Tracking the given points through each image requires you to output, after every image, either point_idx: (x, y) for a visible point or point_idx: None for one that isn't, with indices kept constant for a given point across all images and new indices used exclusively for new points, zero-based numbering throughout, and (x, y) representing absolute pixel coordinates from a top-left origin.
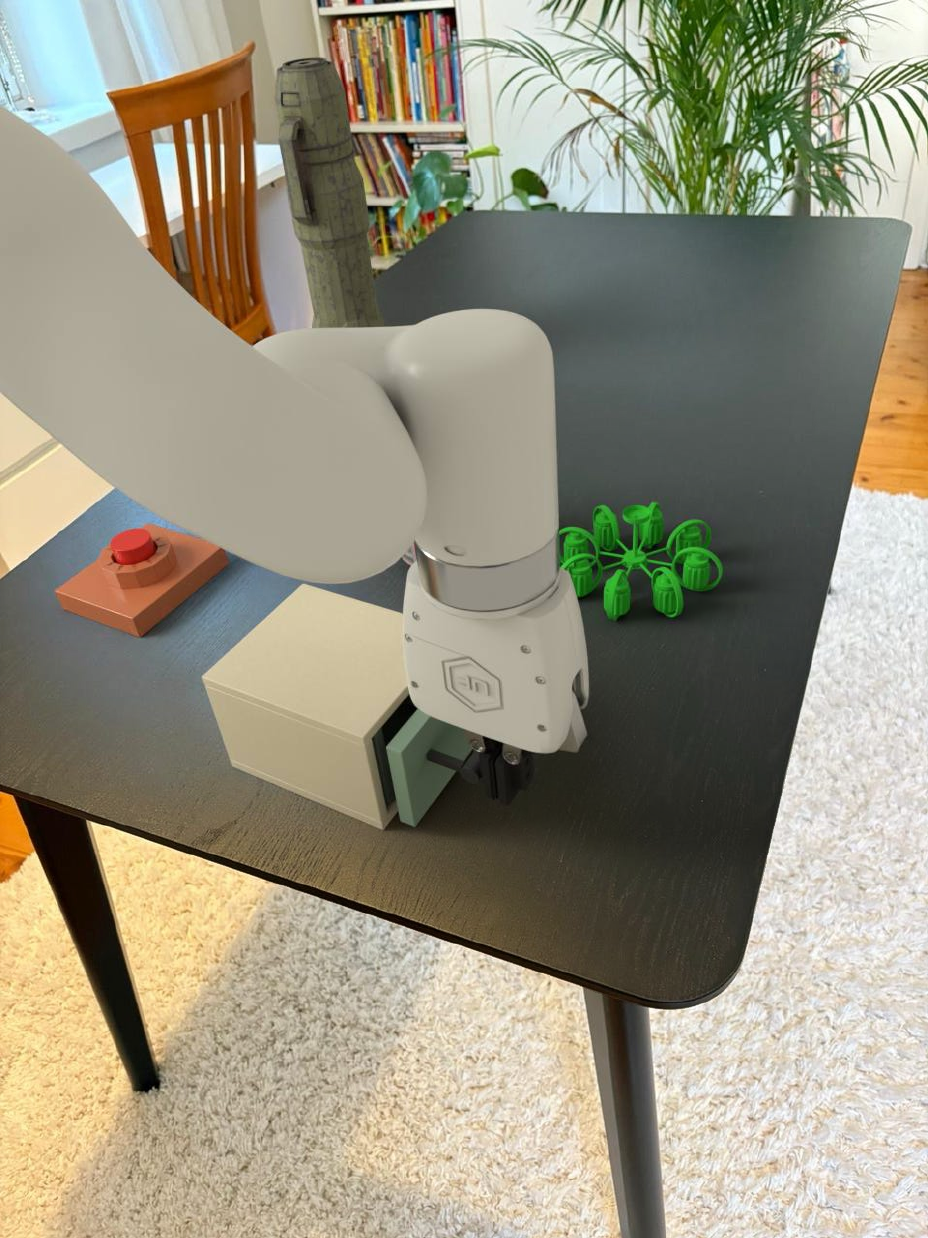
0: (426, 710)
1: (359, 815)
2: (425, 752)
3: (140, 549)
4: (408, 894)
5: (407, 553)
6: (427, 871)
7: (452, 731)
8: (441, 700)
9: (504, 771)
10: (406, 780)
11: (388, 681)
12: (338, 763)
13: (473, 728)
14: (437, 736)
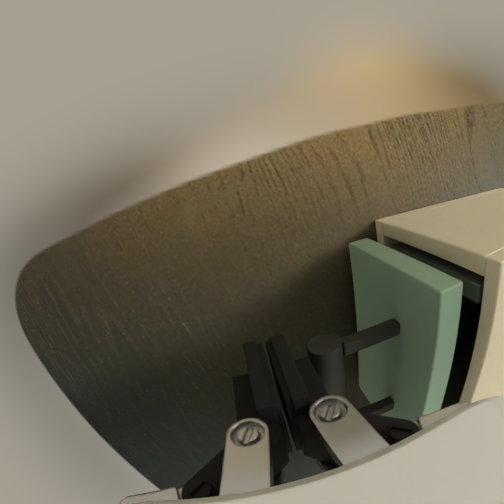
0: (479, 415)
1: (405, 214)
2: (402, 324)
3: None
4: (292, 171)
5: None
6: (297, 210)
7: (388, 368)
8: (470, 490)
9: (254, 397)
10: (398, 269)
11: (498, 361)
12: (473, 226)
13: (334, 489)
14: (402, 354)
